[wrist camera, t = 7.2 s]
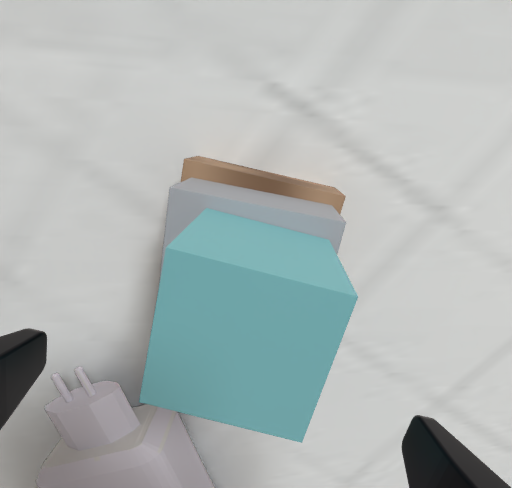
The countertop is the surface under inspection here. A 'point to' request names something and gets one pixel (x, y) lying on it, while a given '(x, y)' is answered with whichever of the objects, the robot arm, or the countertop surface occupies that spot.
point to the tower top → (249, 210)
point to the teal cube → (246, 324)
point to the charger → (117, 442)
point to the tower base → (260, 181)
